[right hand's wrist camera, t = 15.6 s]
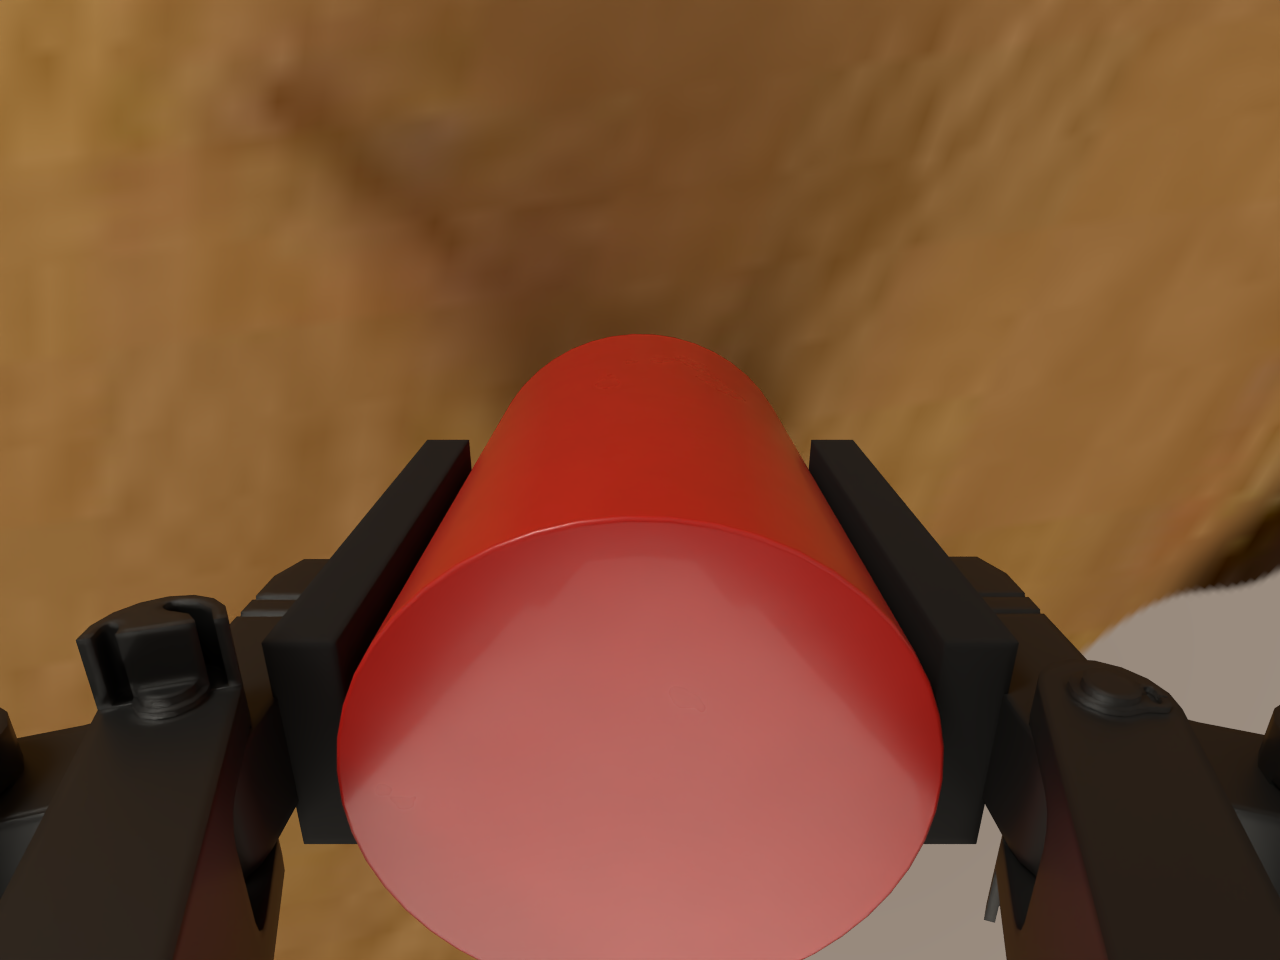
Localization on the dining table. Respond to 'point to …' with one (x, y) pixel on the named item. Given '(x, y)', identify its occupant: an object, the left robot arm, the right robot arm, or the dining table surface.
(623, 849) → the can
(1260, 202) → the dining table surface
